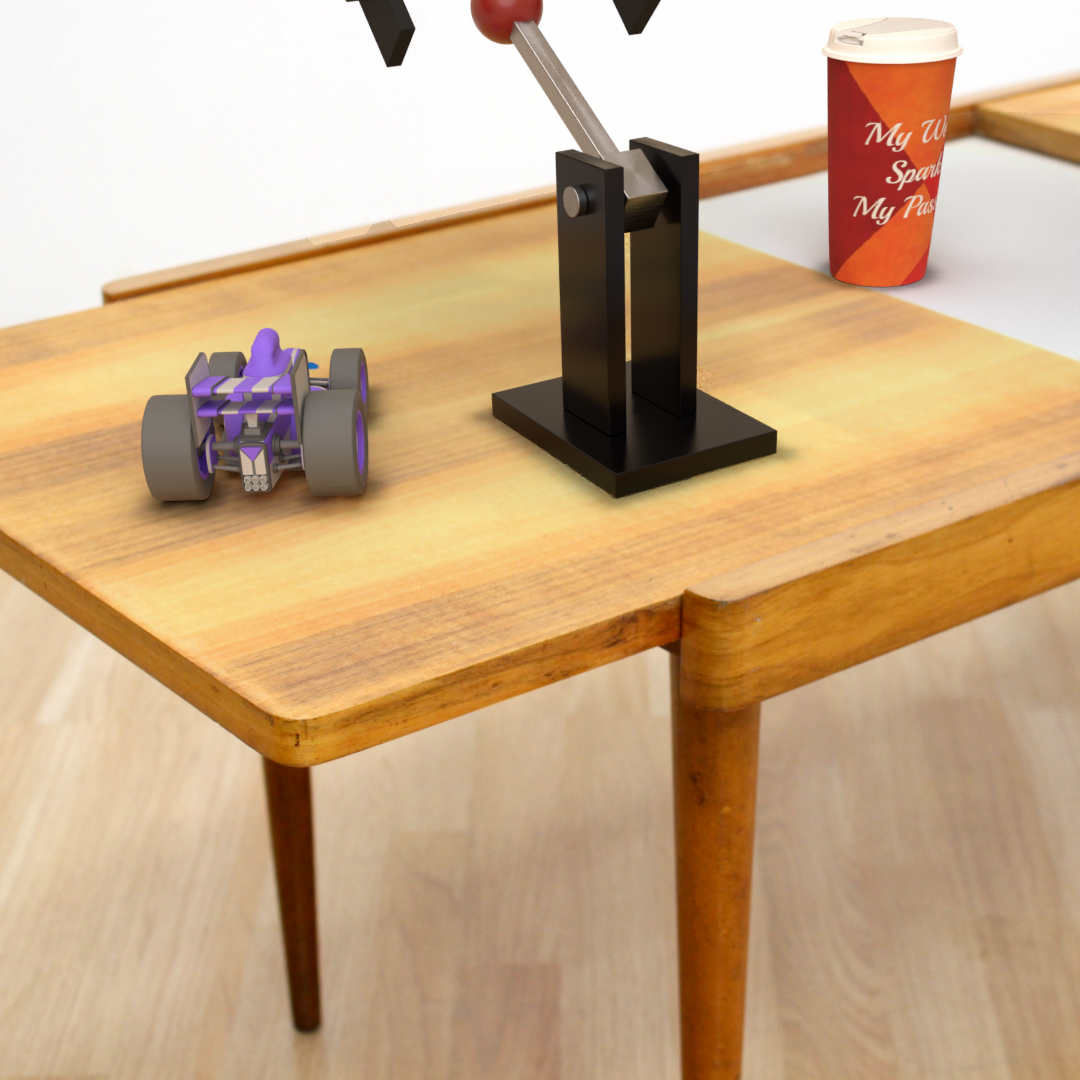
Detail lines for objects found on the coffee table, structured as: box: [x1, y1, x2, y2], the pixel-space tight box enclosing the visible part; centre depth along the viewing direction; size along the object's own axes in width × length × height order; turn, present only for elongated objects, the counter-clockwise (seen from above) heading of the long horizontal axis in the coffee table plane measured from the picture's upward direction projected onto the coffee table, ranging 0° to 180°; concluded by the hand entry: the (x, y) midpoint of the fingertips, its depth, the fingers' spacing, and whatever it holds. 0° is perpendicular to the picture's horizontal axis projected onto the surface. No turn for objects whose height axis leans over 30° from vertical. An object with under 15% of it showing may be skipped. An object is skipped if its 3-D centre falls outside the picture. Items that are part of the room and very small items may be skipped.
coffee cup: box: [821, 16, 964, 288], centre depth 95 cm, size 8×8×15 cm
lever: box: [469, 0, 668, 234], centre depth 74 cm, size 16×4×4 cm
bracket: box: [490, 136, 778, 499], centre depth 73 cm, size 12×9×14 cm
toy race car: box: [140, 327, 370, 502], centre depth 75 cm, size 10×15×6 cm, turn 0°
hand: (528, 33), depth 75 cm, fingers open, 13 cm apart
